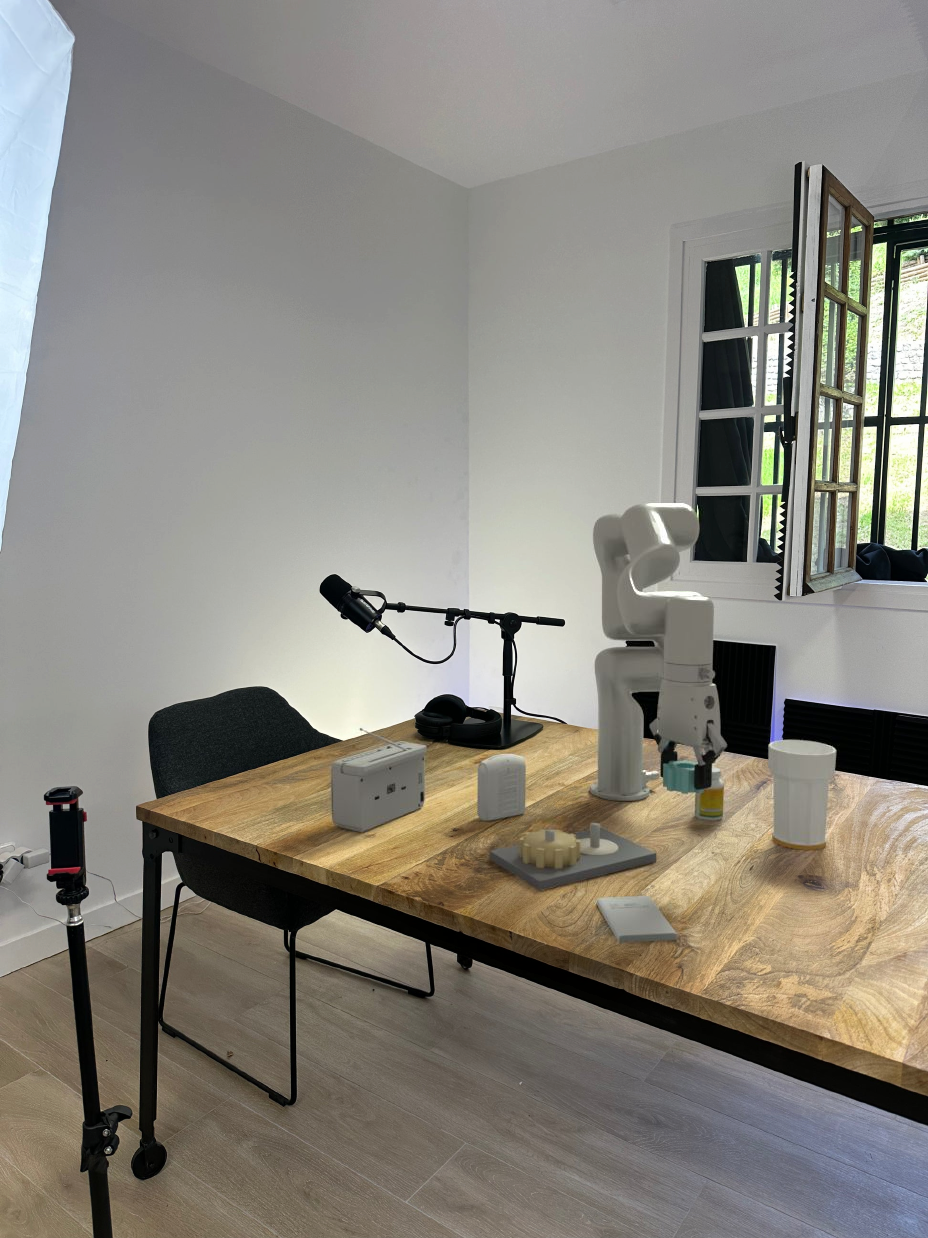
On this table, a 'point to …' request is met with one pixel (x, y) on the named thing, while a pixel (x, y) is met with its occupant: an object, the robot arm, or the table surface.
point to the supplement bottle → (711, 799)
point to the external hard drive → (635, 919)
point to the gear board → (569, 856)
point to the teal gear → (680, 776)
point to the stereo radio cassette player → (378, 785)
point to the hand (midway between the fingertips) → (685, 781)
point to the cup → (801, 792)
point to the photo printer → (501, 787)
